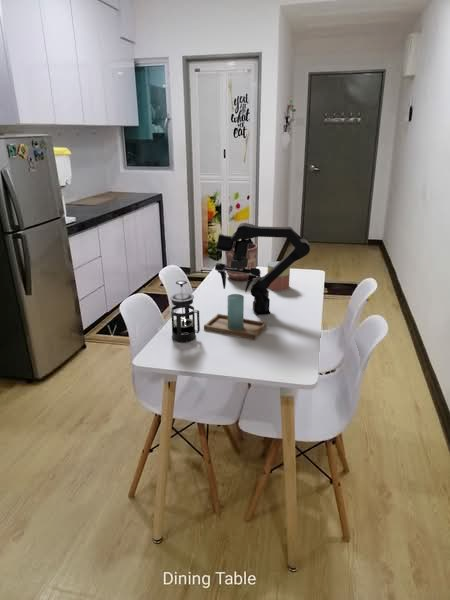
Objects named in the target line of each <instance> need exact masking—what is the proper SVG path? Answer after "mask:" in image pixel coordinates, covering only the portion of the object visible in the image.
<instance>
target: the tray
mask: <svg viewBox="0 0 450 600" xmlns="http://www.w3.org/2000/svg"><path fill="white" fill-rule="evenodd" d="M267 324H268V323H267V322H264V321H259V320H254V319H249V318H243V325H244V327H243V329H241V330H231V329H229V328H228V327H227V325H228V314H221V313H217V314H216V315H215V316H213V317H212V318H211V319H210V320H209V321H208V322H206V323H205V324H204V325H203V330H204V331H205V330H206V331H210V332H215V333H220V334H222V335H223V334H225V335H229V336H233V337H239V338H244V339H247V340H253V341H255V340H256V339H257V338H258V336H260V335H261V333H262V332H263V331H264V330H265V329H266V328H267Z"/></svg>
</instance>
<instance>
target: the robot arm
mask: <svg viewBox="0 0 450 600" xmlns="http://www.w3.org/2000/svg"><path fill="white" fill-rule="evenodd" d="M255 238H282V239H283V238H286V239H287V240H288V241H289V242H290V243H291V245H292V246H291V249H290V251H289V252H288V253H287V254H286V255H285V256H284V257H283V258H282V259H281V260H280V262H279V263H278V264H277V265H276V266H275V267H274V268H273V269H271V270H270V271H269V272H268V271H267V273H266V274H265V275H264V276H261V274H262V273H261V270H260V268H257V267H256V268H251V269H245V267H247V266H248V259H247V253H248V246H249V245H253V243H254V242H253V240H252V239H255ZM234 242H235V248H234V255H233V258H232V259H231V265H230V267H228V266H226V263H220V262H219V263H218V262H217V263H215V267H214V270H215V271H216V272H217V273H218V274H220V276H221V280H222V281H221V282H222V287H223V290H225V289H226V282H227V272H226V271H233V272H241V273H248V274H250V275H249V277H248V280H246V284H245V285H246V286H245V288H244V289H245V290H244V292H245V293H247V292H248V289H249V288H250V294H251V296H252V297H253V301H252V311H253V312H254V313H255V315H257V316H259V315H269V314H271V310H270V305H271V304H270V301H271V300H270V297H269V296H270V295H269V292H270V291H269V289H268V287H269V286H270V284H271V283H272V282H273V281H274V280H275V279H276V278H277V277H278V276H279V275H281V274H282V273H283V272H284V271H285V270H286V269H287V268H288V267H289V266H290V267H291V265H293V263H295V262H297V261H299V260H302V259H303V258H304V257H306V256H307V255H309V253H310V252H311V251H310V250H311V246H310V244H309V241H308V240H307V239H304V238H302V237H301V236H300V235H299V234H298V233H297V232H296V231H295V230H294V228H292V227H291V226H285V227H284V226H260V225H255V224H251V223H247V222H241V223H240V224H239V225H238V226H237V228H236V231H235V232H234V233H233V234H232V235H225V234H223V233H222V234H220V233H219V234H218V239H217V243H216V251H220V252H225V251H226V252H230V251H231V250H233V245H234ZM233 268H237V269H233ZM240 269H243V270H240ZM250 286H251V287H250Z"/></svg>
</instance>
